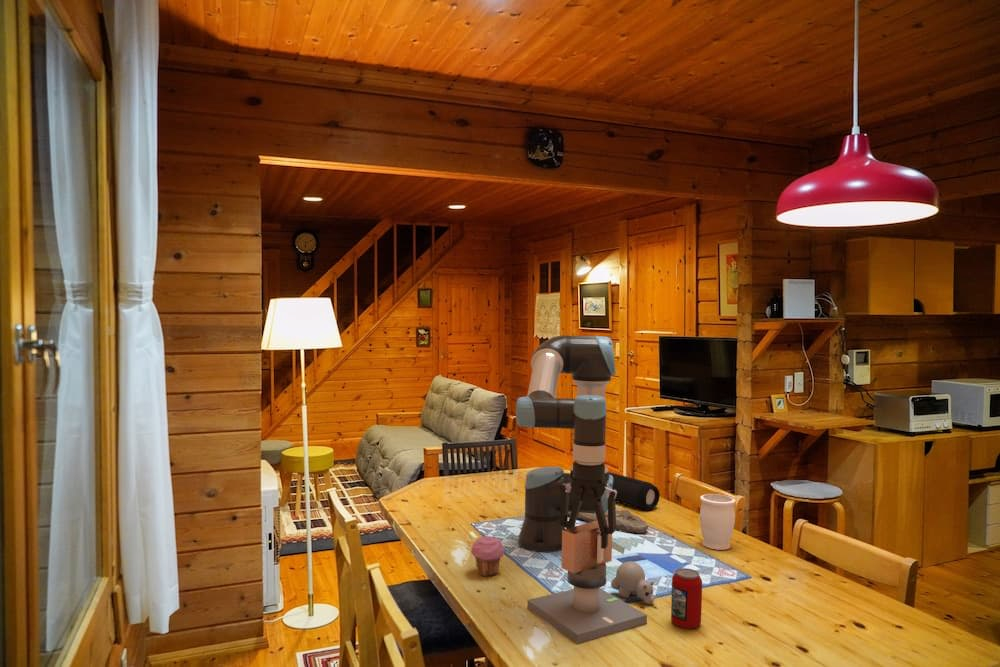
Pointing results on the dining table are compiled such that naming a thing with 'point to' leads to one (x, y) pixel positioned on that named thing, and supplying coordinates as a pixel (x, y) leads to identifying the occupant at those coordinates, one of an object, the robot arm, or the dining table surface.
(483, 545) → the cupcake
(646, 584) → the chubby cartoon animal
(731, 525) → the jar
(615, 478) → the portable speaker
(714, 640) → the dining table surface
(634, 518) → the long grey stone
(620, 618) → the coupling base
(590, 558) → the coupling
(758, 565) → the dining table surface
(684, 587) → the beverage can
